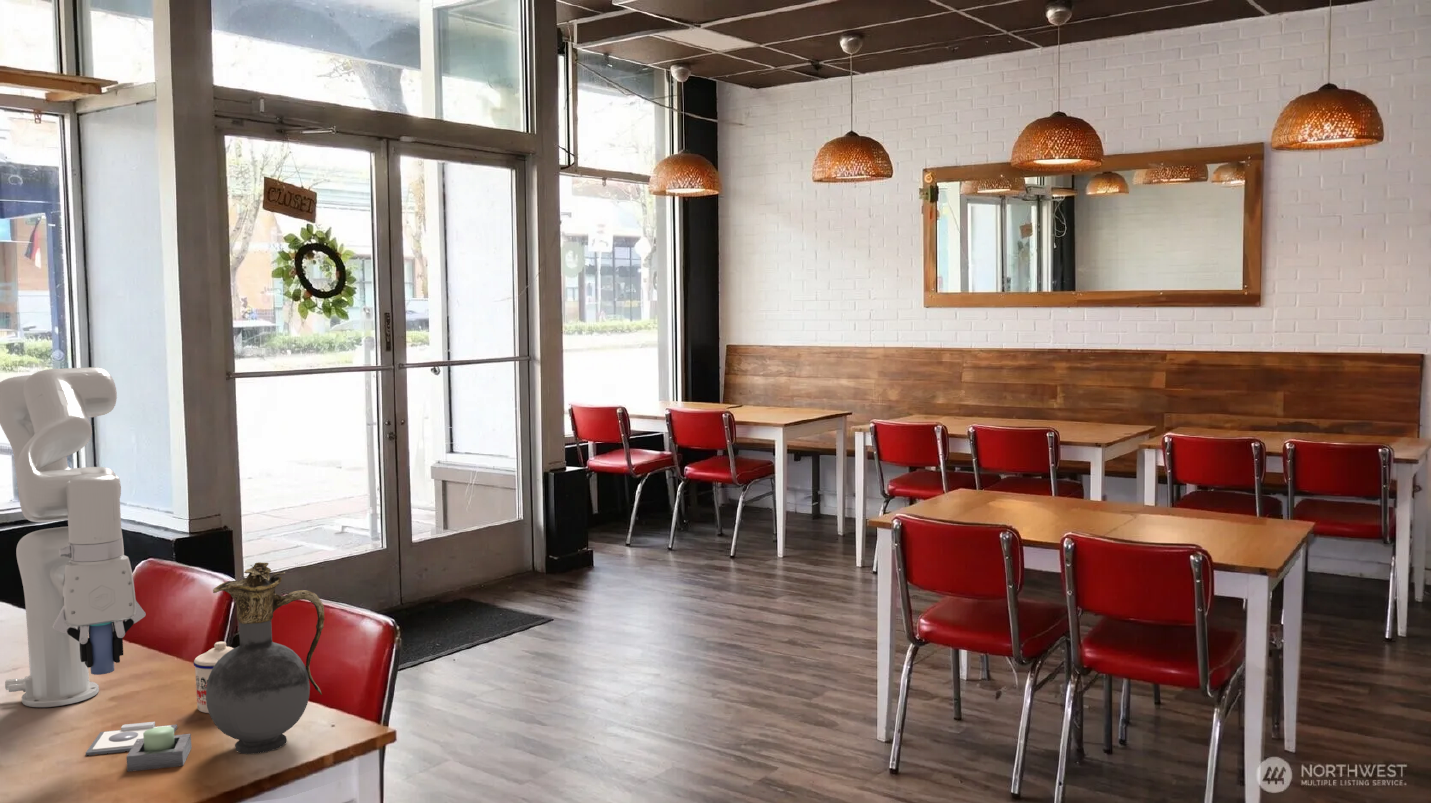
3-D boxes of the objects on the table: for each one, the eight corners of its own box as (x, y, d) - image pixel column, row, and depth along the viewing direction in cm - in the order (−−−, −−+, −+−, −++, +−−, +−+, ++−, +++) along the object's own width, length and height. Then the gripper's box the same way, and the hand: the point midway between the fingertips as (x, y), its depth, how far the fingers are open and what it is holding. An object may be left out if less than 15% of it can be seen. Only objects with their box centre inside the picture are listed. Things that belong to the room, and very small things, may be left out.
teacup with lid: (185, 708, 215) (182, 644, 214) (232, 694, 223) (229, 633, 222) (222, 721, 208) (219, 655, 207) (269, 706, 215) (266, 643, 214)
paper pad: (85, 755, 193) (85, 748, 193) (100, 734, 203) (100, 727, 202) (166, 747, 196) (166, 739, 196) (177, 726, 206) (177, 719, 205)
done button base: (127, 771, 186) (126, 756, 185) (138, 753, 193) (137, 739, 193) (183, 765, 188) (182, 750, 187) (191, 748, 195) (190, 733, 195)
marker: (88, 670, 194) (85, 613, 193) (112, 666, 196) (109, 609, 196) (92, 676, 191) (89, 618, 191) (117, 672, 194) (114, 614, 193)
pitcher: (201, 748, 195) (192, 566, 193) (318, 722, 207) (311, 550, 204) (219, 767, 187) (209, 577, 184) (340, 739, 198) (332, 560, 196)
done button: (141, 756, 188) (140, 737, 187) (147, 746, 192) (146, 728, 192) (172, 753, 189) (171, 734, 189) (177, 743, 193) (176, 725, 193)
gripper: (41, 562, 184) (47, 679, 186) (157, 548, 194) (162, 659, 196) (34, 554, 190) (41, 667, 192) (147, 541, 200) (152, 648, 202)
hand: (102, 662), depth 194 cm, fingers closed on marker, 3 cm apart
